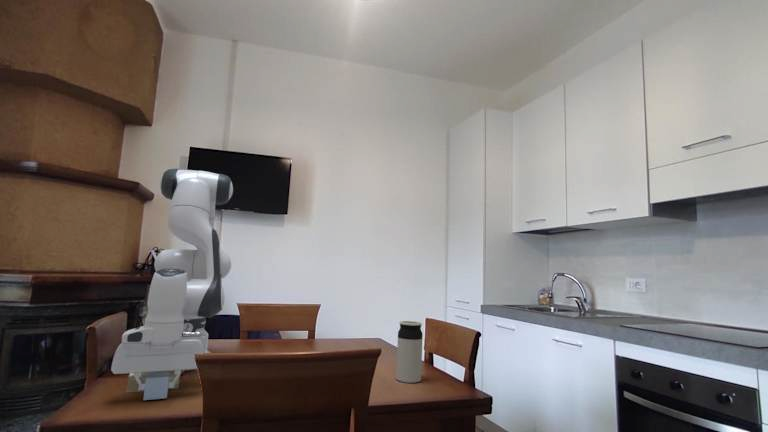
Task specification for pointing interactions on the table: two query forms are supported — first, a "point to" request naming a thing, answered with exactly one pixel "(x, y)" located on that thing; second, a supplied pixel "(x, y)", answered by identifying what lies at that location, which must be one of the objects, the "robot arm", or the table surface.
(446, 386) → the table surface
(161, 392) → the slate brick
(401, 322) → the travel mug
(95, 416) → the table surface
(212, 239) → the robot arm
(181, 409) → the table surface
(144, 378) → the cream stepped block
